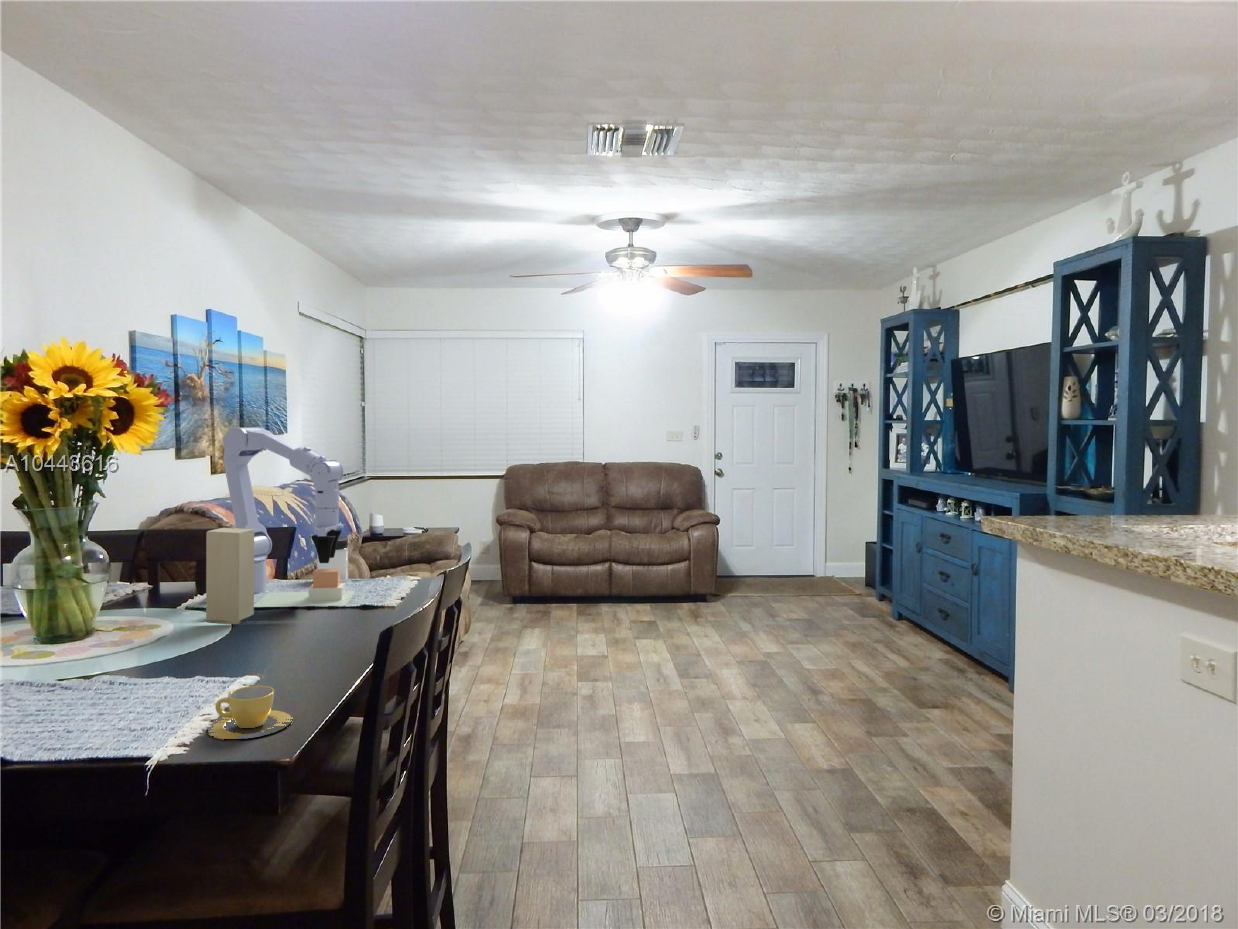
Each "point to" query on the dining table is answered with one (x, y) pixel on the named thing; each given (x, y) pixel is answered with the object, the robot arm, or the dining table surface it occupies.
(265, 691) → the cup
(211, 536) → the beige tall rectangular block
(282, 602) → the baseplate
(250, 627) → the dining table surface
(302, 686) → the dining table surface
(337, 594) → the base brick
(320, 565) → the jar
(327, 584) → the top brick
